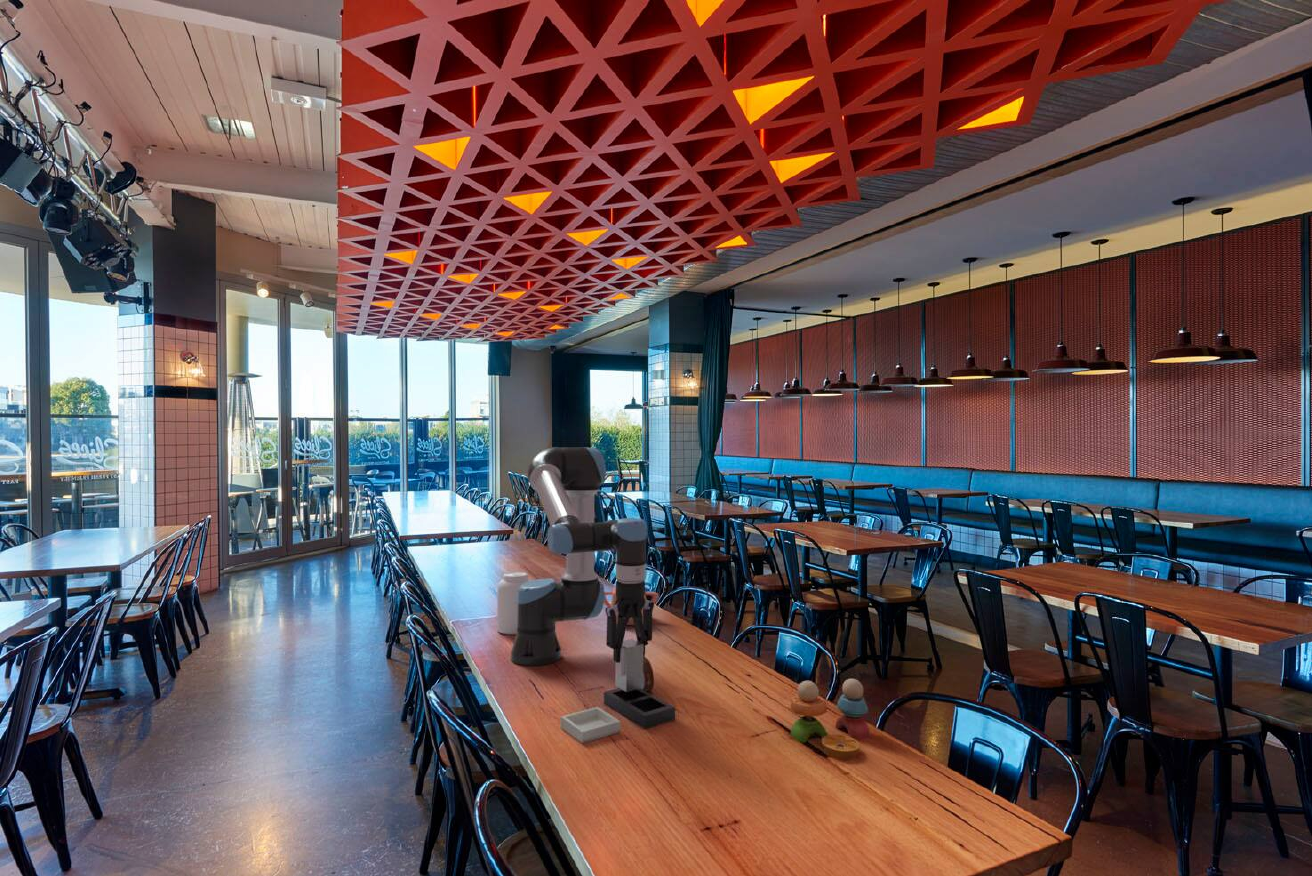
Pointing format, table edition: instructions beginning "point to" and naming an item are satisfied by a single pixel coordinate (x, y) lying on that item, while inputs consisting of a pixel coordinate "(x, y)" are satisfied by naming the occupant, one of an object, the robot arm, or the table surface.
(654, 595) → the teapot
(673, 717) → the dark rectangular frame
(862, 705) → the wooden stacking toy
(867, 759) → the table surface
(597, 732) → the tray
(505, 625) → the white bottle
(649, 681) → the tin
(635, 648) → the grey rectangular block
